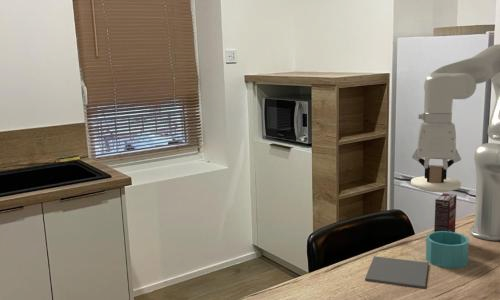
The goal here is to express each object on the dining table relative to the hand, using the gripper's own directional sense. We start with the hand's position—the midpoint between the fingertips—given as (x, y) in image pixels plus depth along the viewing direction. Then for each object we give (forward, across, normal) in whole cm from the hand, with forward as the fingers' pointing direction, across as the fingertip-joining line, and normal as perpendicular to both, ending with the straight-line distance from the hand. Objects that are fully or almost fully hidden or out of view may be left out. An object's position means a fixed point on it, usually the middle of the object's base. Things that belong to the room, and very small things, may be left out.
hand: (435, 180), depth 142 cm
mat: (+26, -9, -9) cm, 29 cm away
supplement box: (+26, +3, +18) cm, 32 cm away
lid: (+1, 0, 0) cm, 1 cm away
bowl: (+26, +4, +4) cm, 26 cm away
